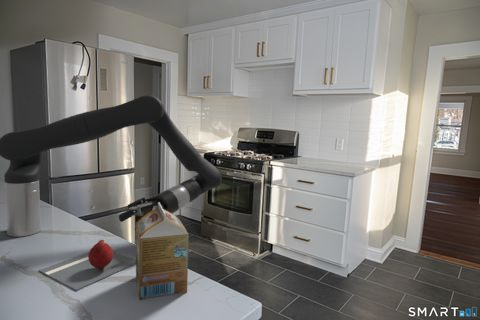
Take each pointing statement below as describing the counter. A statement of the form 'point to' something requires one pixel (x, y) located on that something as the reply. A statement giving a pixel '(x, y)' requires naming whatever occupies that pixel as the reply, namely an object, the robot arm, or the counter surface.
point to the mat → (85, 270)
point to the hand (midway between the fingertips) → (127, 225)
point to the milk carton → (161, 255)
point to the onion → (100, 255)
